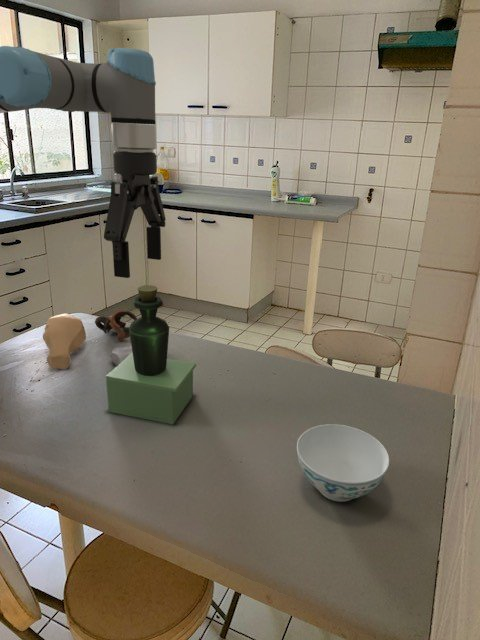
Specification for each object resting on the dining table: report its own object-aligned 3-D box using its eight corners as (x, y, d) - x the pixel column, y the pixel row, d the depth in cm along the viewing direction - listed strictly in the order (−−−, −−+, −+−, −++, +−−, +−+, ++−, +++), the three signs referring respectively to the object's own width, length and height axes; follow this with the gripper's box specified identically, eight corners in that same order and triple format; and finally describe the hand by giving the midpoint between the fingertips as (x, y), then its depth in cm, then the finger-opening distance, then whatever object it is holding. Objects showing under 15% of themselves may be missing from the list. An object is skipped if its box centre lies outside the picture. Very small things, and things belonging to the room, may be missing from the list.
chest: (192, 396, 105) (192, 365, 102) (172, 424, 94) (172, 391, 92) (134, 385, 108) (132, 355, 105) (108, 412, 98) (106, 379, 95)
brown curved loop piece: (134, 327, 141) (140, 309, 135) (133, 352, 135) (140, 334, 129) (93, 321, 136) (98, 302, 131) (90, 346, 130) (96, 327, 125)
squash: (86, 336, 133) (88, 309, 129) (82, 378, 116) (85, 348, 112) (45, 333, 129) (47, 305, 125) (35, 375, 113) (37, 344, 109)
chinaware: (293, 455, 87) (296, 420, 84) (374, 462, 86) (380, 428, 83) (293, 516, 73) (297, 477, 70) (390, 526, 72) (398, 487, 69)
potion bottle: (161, 381, 94) (158, 297, 87) (124, 374, 95) (118, 292, 88) (175, 363, 101) (174, 284, 94) (141, 357, 103) (137, 280, 96)
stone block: (168, 371, 119) (152, 349, 125) (169, 356, 116) (153, 335, 123) (123, 384, 113) (109, 360, 120) (123, 368, 110) (109, 345, 117)
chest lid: (196, 366, 102) (196, 362, 101) (175, 392, 91) (175, 388, 91) (132, 355, 105) (132, 352, 105) (105, 379, 95) (105, 376, 95)
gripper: (146, 147, 93) (149, 250, 102) (74, 151, 71) (86, 283, 79) (181, 149, 92) (181, 254, 100) (119, 154, 69) (126, 288, 77)
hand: (139, 267), depth 90 cm, fingers open, 13 cm apart
